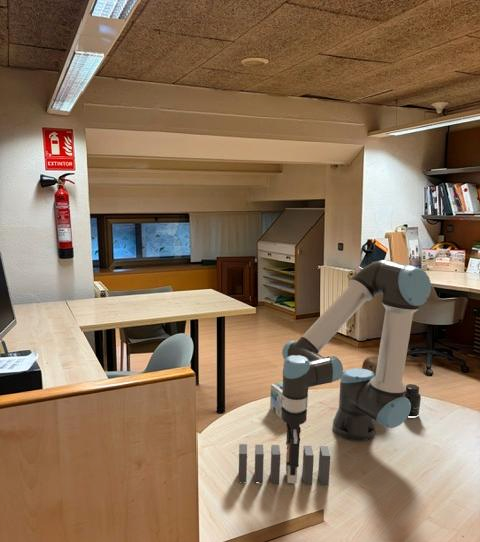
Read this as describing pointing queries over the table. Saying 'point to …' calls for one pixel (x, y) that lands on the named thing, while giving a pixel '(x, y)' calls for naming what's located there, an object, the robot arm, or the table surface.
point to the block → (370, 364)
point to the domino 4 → (287, 459)
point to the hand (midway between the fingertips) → (291, 476)
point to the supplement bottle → (413, 398)
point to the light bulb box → (276, 398)
